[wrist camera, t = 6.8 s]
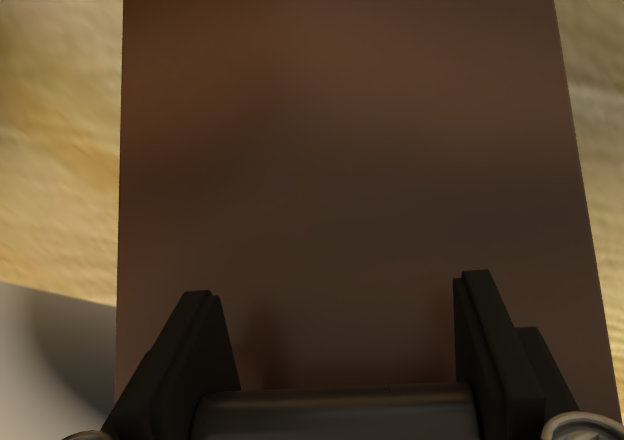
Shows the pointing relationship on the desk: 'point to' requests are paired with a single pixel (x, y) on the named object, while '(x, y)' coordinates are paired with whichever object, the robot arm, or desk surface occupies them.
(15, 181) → the desk surface
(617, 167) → the desk surface
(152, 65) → the lid
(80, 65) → the desk surface
